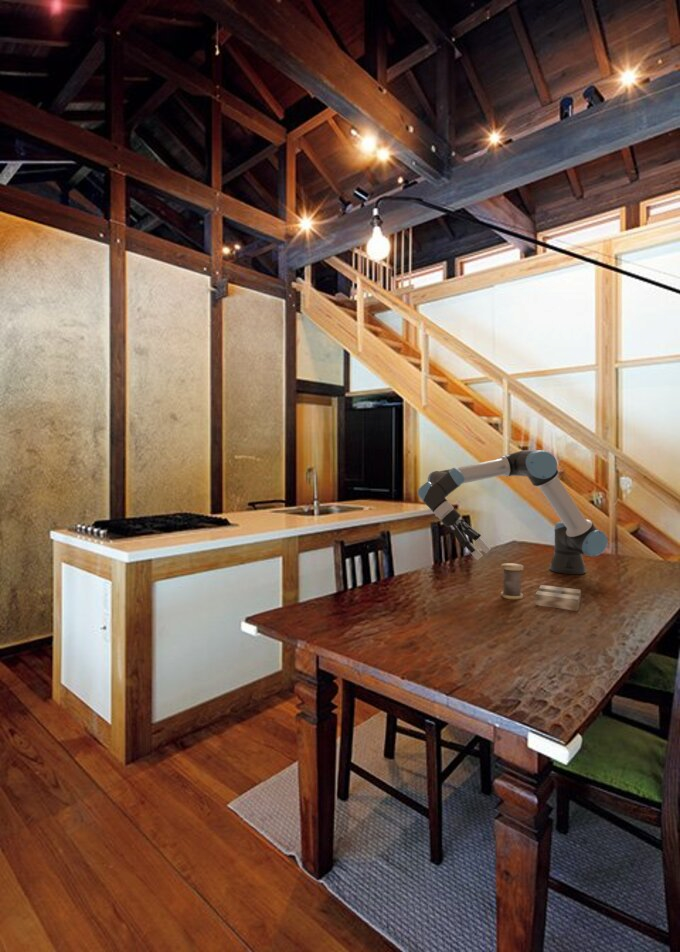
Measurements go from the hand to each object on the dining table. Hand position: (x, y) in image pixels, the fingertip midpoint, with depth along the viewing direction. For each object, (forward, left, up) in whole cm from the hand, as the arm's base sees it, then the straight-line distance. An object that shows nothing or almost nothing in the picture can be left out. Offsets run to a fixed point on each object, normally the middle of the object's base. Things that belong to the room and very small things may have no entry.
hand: (484, 554), depth 197 cm
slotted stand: (+22, +15, -15) cm, 31 cm away
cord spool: (+9, +6, -15) cm, 18 cm away
